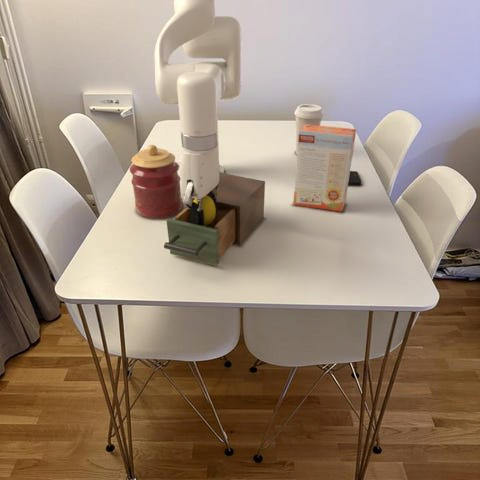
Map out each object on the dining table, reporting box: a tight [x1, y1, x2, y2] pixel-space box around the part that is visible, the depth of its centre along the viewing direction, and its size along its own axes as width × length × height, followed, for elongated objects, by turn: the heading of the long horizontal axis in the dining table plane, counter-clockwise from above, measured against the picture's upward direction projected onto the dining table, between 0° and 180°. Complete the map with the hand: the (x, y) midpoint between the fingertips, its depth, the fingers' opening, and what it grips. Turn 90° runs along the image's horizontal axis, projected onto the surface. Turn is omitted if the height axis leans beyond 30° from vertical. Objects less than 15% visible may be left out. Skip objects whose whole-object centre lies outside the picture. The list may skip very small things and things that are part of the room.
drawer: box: [163, 205, 237, 267], centre depth 108 cm, size 20×12×9 cm, turn 156°
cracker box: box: [293, 124, 357, 212], centre depth 124 cm, size 14×6×21 cm, turn 71°
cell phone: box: [348, 170, 362, 186], centre depth 144 cm, size 9×18×1 cm, turn 87°
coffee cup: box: [294, 103, 324, 155], centre depth 156 cm, size 10×10×15 cm
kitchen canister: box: [129, 144, 183, 219], centre depth 123 cm, size 13×13×18 cm
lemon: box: [193, 195, 216, 227], centre depth 106 cm, size 6×6×8 cm
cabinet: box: [193, 172, 266, 247], centre depth 118 cm, size 16×14×11 cm
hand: (204, 218), depth 107 cm, fingers closed on lemon, 5 cm apart
